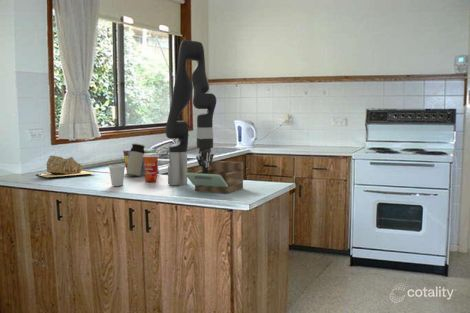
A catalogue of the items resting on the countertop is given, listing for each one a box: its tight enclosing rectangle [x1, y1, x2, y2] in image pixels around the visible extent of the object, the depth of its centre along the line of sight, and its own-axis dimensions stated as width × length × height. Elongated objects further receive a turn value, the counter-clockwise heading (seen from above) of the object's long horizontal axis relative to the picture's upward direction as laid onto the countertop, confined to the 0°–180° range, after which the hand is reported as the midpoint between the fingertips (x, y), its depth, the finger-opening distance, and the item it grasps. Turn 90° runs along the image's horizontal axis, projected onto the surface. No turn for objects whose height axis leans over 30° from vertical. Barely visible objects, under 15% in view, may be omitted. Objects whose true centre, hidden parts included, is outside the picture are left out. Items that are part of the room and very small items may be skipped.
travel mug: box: [125, 143, 146, 177], centre depth 289 cm, size 8×8×18 cm
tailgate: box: [185, 172, 228, 188], centre depth 231 cm, size 18×2×10 cm
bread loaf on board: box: [39, 155, 93, 178], centre depth 299 cm, size 28×22×16 cm
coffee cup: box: [143, 152, 159, 183], centre depth 272 cm, size 8×8×15 cm
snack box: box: [122, 147, 160, 176], centre depth 297 cm, size 21×6×15 cm, turn 59°
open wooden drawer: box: [194, 160, 244, 194], centre depth 243 cm, size 18×16×13 cm
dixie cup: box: [108, 164, 126, 187], centre depth 259 cm, size 8×8×10 cm
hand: (205, 175), depth 229 cm, fingers closed
